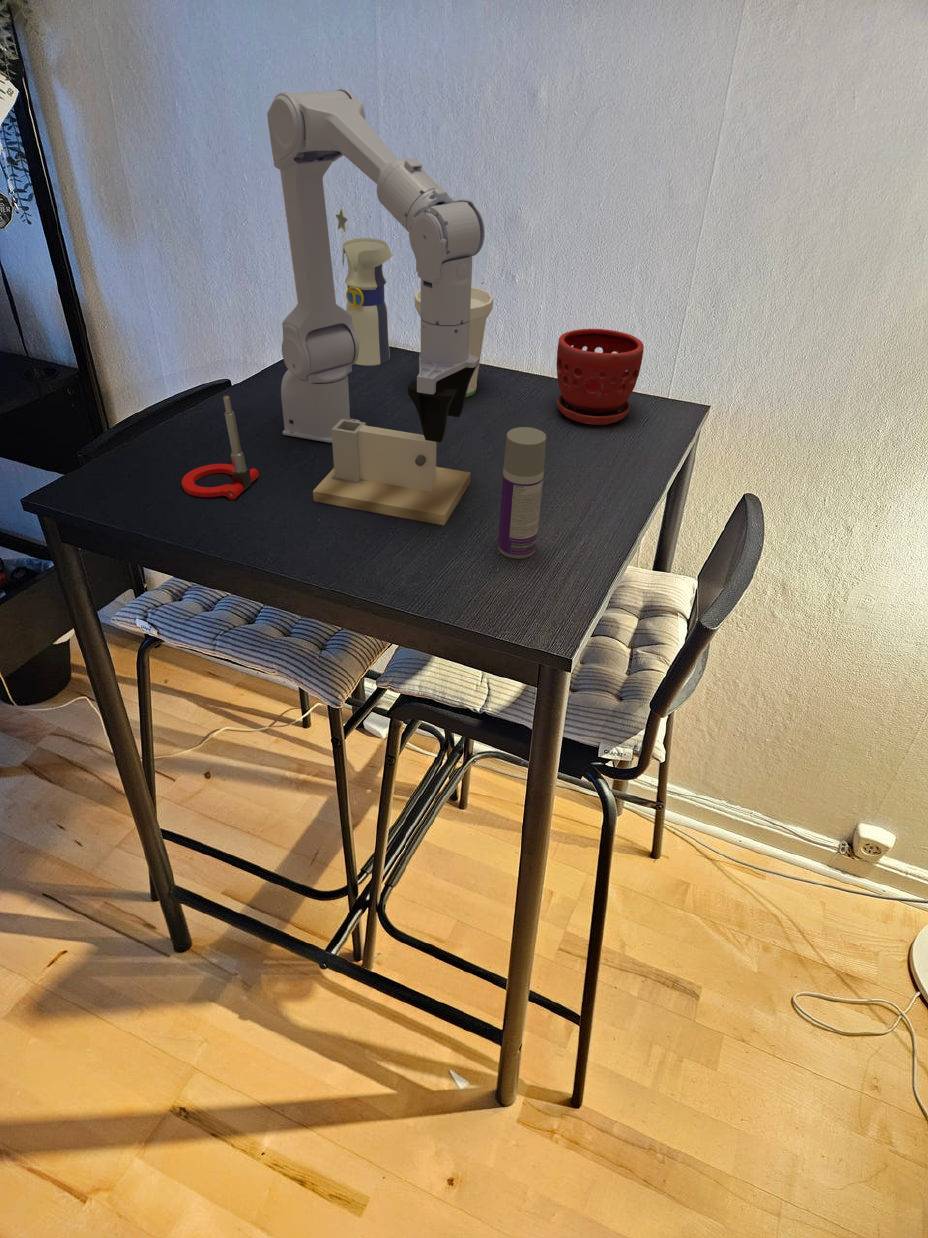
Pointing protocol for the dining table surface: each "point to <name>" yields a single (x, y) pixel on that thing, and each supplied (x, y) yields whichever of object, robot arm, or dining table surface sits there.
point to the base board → (397, 496)
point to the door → (383, 456)
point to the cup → (472, 325)
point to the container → (521, 492)
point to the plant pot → (597, 374)
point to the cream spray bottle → (367, 295)
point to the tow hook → (224, 467)
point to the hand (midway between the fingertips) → (443, 427)
